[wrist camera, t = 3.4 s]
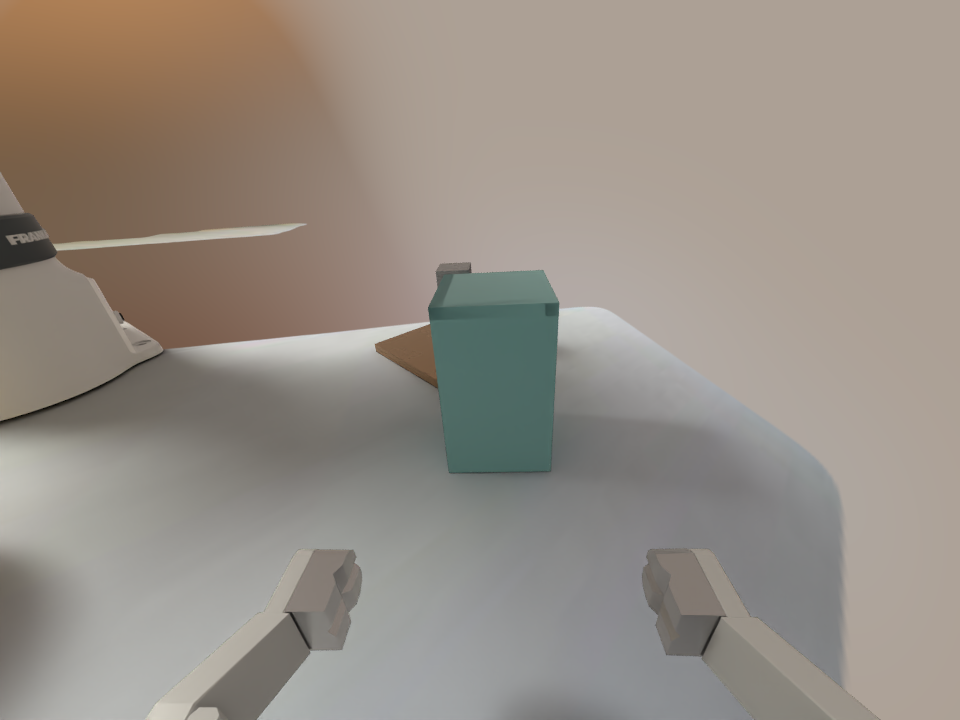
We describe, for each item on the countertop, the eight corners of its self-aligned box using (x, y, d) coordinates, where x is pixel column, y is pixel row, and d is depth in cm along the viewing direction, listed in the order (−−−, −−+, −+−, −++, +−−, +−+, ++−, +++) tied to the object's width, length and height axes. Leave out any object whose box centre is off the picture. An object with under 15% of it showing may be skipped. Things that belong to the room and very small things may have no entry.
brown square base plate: (344, 399, 28) (317, 301, 24) (396, 319, 43) (384, 252, 39) (563, 394, 27) (569, 291, 23) (538, 314, 42) (540, 244, 38)
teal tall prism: (449, 472, 21) (428, 307, 16) (457, 412, 26) (444, 274, 21) (550, 471, 20) (559, 302, 16) (539, 410, 25) (543, 270, 21)
